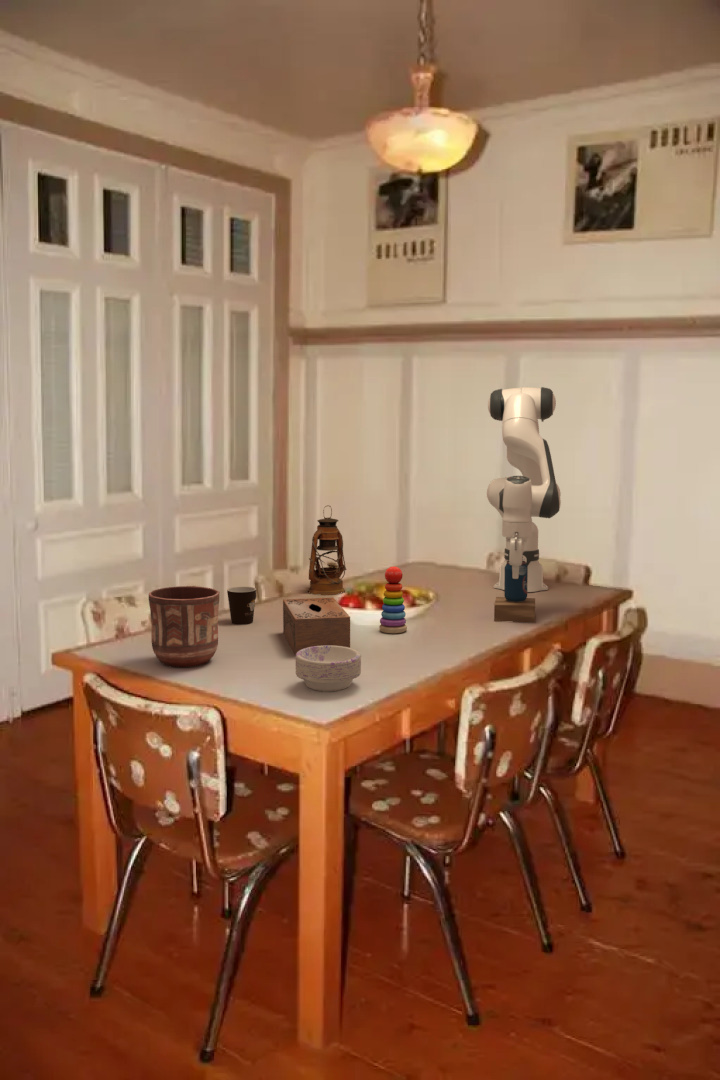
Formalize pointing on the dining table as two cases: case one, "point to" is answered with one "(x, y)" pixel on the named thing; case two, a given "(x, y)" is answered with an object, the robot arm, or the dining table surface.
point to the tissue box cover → (315, 623)
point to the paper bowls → (328, 667)
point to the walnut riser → (514, 610)
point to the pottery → (184, 625)
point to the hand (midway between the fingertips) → (515, 575)
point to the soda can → (516, 584)
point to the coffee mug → (241, 604)
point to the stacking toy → (393, 603)
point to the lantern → (328, 537)
